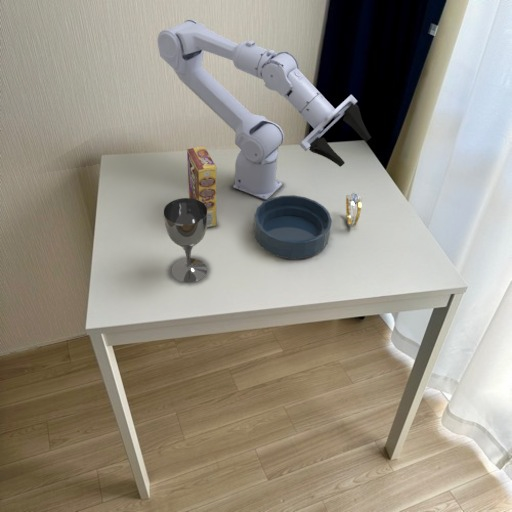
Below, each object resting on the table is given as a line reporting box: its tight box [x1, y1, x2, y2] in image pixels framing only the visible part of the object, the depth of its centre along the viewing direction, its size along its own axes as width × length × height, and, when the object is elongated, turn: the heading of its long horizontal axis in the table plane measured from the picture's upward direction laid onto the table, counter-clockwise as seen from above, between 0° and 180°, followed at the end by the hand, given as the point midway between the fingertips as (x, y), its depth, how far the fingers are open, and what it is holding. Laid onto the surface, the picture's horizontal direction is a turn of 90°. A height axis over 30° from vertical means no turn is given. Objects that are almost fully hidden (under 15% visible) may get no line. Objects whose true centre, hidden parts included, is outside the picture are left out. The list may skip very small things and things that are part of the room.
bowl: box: [253, 194, 333, 260], centre depth 112 cm, size 16×16×5 cm
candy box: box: [186, 146, 217, 228], centre depth 113 cm, size 9×4×15 cm, turn 20°
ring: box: [345, 191, 363, 227], centre depth 115 cm, size 7×3×8 cm, turn 1°
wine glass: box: [162, 197, 208, 284], centre depth 100 cm, size 8×8×15 cm
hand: (355, 152), depth 107 cm, fingers open, 7 cm apart
